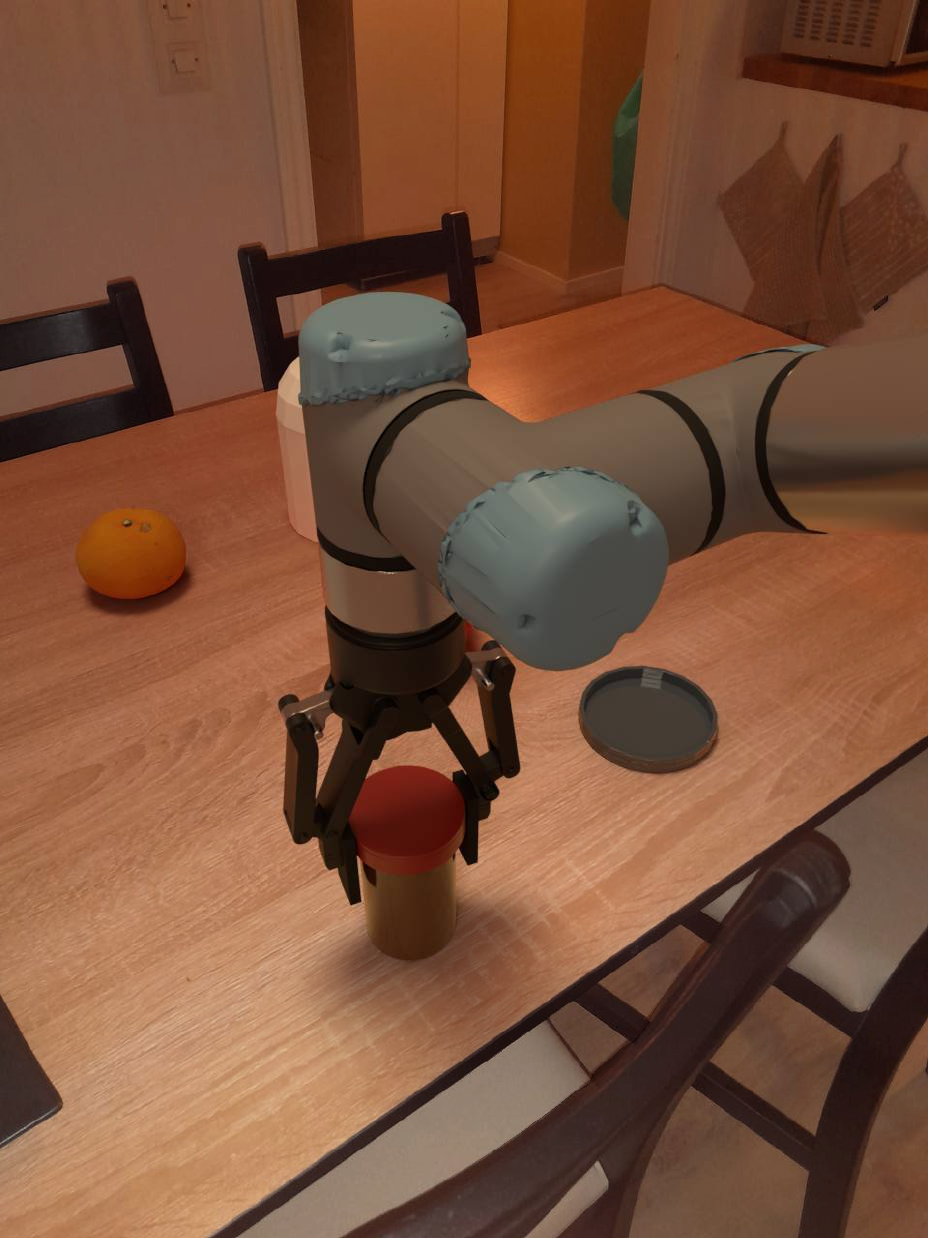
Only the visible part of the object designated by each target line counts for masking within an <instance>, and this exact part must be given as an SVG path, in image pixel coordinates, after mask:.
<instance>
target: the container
mask: <svg viewBox="0 0 928 1238" xmlns="http://www.w3.org/2000/svg"><path fill="white" fill-rule="evenodd" d="M300 392H301V391H300V365H299V356H297V357H296V358H295V359H294V360H292V362H290V364H289V365H288V367H287V369H286V370H285V371H284V374H283V375H282V377H281V378H280V380H279V382H278V388H277V395H276V396H277V397H276V408H275V417H276V423H277V430H278V440H279V446H280V455H281V462H282V471H283V479H284V486H285V497H286V503H287V511H288V518H289V523H290V525H291V527H292V528H293V529H294V531H295V532H296V533H297V534H298V535H300V536H301V537H304V538H305V539H307V540H310V541H311V542H313V543H318V537H317V529H316V523H315V522H316V521H315V512H314V504H313V496H312V487H311V479H310V471H309V462H308V454H307V446H306V437H305V429H304V421H303V412H302V405H299V401H298V394H299V393H300Z"/></svg>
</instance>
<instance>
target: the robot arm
mask: <svg viewBox="0 0 928 1238" xmlns="http://www.w3.org/2000/svg"><path fill="white" fill-rule="evenodd" d="M465 325H466V324H465V323H464V322H463V321H462V316H461V315H460V314H459V312H458V311H457V310H455V309H454V308H453V307H452V306H450V305H449V304H448V303H445V302H443V301H442V300H440V299H437V298H433V297H431V296H427V295H423V294H418V293H417V294H416V293H413V292H401V291H374V292H365V293H358V294H355V295H350V296H345V297H341V298H337V299H334V300H332V301H330V302H327V303H326V304H323V305H322V306H320V307H319V308H317V309H316V310H314V311H313V312H312V313H311V314H310V315H309V316H308V317H306V319H305V321H303V324H302V325H301V328H300V331H299V333H298V343H297V344H298V357H299V365H300V391H301V392H300V393H299V394H298V401H299V405H302V412H303V421H304V429H305V437H306V446H307V454H308V462H309V471H310V479H311V487H312V496H313V504H314V512H315V521H316V522H315V523H316V529H317V537H318V542H317V544H318V545H317V546H318V555H319V557H318V558H319V567H320V568H319V569H320V578H321V588H322V597H323V601H324V604H325V605H324V619H325V628H326V638H327V647H328V656H329V665H330V669H329V675H328V677H327V679H326V681H325V683H324V686H323V690H322V691H320V692H318V693H315V694H313V695H311V696H309V697H306V698H304V699H302V700H300V699H299V697H298V696H297V695H296V694H293V693H289V694H284V695H283V696H281V697H280V699H279V700H278V701H277V708H278V710H279V713H280V715H281V717H282V720H283V722H284V725H285V729H286V743H285V745H286V746H285V762H284V763H285V764H284V782H283V783H284V784H283V804H282V805H283V806H282V813H283V816H284V819H285V821H286V824H287V827H288V830H289V833H290V835H291V836H290V837H291V838H292V841H293V843H294V844H296V845H298V846H299V845H305V844H307V843H309V842H311V840H312V839H314V838H316V839H317V843H318V850H319V853H320V856H321V858H322V861H323V863H324V866H325V867H326V869H327V870H328V871H329V872H330V871H332V870H335V869H337V873H338V877H339V879H340V882H341V885H342V887H343V889H344V892H345V895H346V898H347V900H348V903H349V906H355V905H357V904H360V903H362V902H363V901H362V893H361V884H360V883H361V882H360V873H359V863H358V856H357V852H356V842H355V836H354V834H353V831H352V829H351V827H350V824H349V822H348V819H349V817H350V815H351V812H352V810H353V807H354V805H355V802H356V800H357V798H358V795H359V793H360V790H361V788H362V786H363V783H364V781H365V779H366V778H367V777H368V773H369V771H370V770H371V769H370V768H371V767H372V764H373V762H374V761H378V760H379V759H380V757H381V755H382V752H383V751H384V748H385V745H386V743H387V741H391V740H394V739H396V738H398V737H400V736H402V735H405V734H406V733H414V732H422V731H425V730H429V729H432V728H433V725H434V727H435V729H436V730H437V731H438V734H439V735H440V736H441V737H442V739H443V741H444V742H445V743H446V745H447V746H448V747H449V749H450V751H451V752H452V754H453V755H454V757H455V758H456V760H457V761H458V763H459V765H460V766H461V768H462V769H459V770H455V771H453V772H451V776H452V779H451V781H452V782H453V783H455V785H456V786H457V787H458V789H459V791H460V792H461V794H462V796H463V799H464V803H465V834H464V838H463V841H462V843H461V845H460V847H459V848H458V850H459V852H460V854H461V856H462V858H463V860H464V862H465V864H466V865H467V867H468V866H469V867H470V866H472V865H475V864H477V863H479V828H480V827H479V826H480V825H479V823H480V821H484V820H488V819H489V817H490V815H491V812H492V802H493V801H495V800H496V799H497V798H499V796H500V794H501V792H500V789H499V787H498V786H497V784H496V782H497V781H498V780H500V779H501V778H503V777H504V778H506V779H512V778H515V777H516V776H518V775H519V774H520V772H521V768H522V767H521V761H520V760H521V759H520V753H519V748H518V741H517V740H518V739H517V735H516V728H515V720H514V713H513V708H512V707H513V706H512V700H511V691H512V687H513V683H514V679H515V675H516V672H517V668H516V666H515V664H514V663H513V661H512V660H511V659H510V657H509V656H508V654H507V653H506V651H507V652H508V653H510V654H511V656H513V657H514V658H515V659H517V660H518V661H519V662H521V663H523V664H525V665H526V666H529V667H531V668H534V669H537V670H540V671H547V672H548V671H549V672H565V671H566V672H567V671H574V670H578V669H581V668H584V667H587V666H589V665H592V664H594V663H596V662H598V661H600V660H601V659H603V658H605V657H607V656H609V655H610V654H611V653H612V652H613V651H614V648H615V646H616V645H617V643H618V641H619V640H620V639H621V638H622V637H623V636H624V635H625V634H633V633H635V632H636V631H637V630H638V629H639V627H641V625H642V624H644V622H645V621H646V619H647V618H648V617H649V615H650V613H651V612H652V610H653V608H654V607H655V605H656V604H657V601H658V599H659V598H660V595H661V592H662V589H663V587H664V584H665V581H666V578H667V575H668V569H669V566H671V565H674V564H676V563H679V562H681V561H683V560H686V559H688V558H691V557H693V556H696V555H697V554H700V553H702V552H705V551H707V550H710V549H712V548H715V547H717V546H720V545H722V544H724V543H727V542H729V541H731V540H734V539H737V538H739V537H742V536H745V535H746V536H747V535H751V534H757V533H780V534H782V533H783V534H804V535H805V534H806V535H829V534H833V535H834V534H836V535H857V536H878V537H879V536H880V537H900V538H901V537H902V538H921V539H922V538H926V539H928V330H926V331H919V332H913V333H912V332H911V333H907V334H900V335H894V336H889V337H881V338H877V339H876V338H875V339H870V340H864V341H858V342H857V341H856V342H852V343H846V344H840V345H833V346H828V347H826V346H823V345H819V344H813V343H812V344H811V343H809V344H807V343H804V344H803V343H802V344H795V345H792V346H791V345H790V346H781V347H774V348H769V349H765V350H760V351H757V352H752V353H748V354H744V355H742V356H739V357H737V358H735V359H734V360H732V361H730V362H729V363H726V364H724V365H720V366H717V367H714V368H711V369H707V370H704V371H701V372H698V373H694V374H692V375H689V376H686V377H682V378H680V379H676V380H673V381H670V382H667V383H664V384H661V385H657V386H654V387H651V388H648V389H641V390H637V391H635V392H631V393H628V394H626V395H625V394H624V395H622V396H619V397H615V398H612V399H609V400H605V401H601V402H598V403H595V404H592V405H588V406H585V407H582V408H579V409H575V410H572V411H568V412H565V413H561V414H558V415H555V416H552V417H549V418H546V419H543V420H540V421H535V422H532V421H531V422H529V421H528V422H527V421H522V420H521V419H519V418H518V417H516V416H515V415H513V414H511V413H510V412H508V411H507V410H506V409H504V408H502V407H501V406H499V405H498V404H496V403H494V402H492V401H491V400H489V399H488V398H487V397H486V396H484V395H483V394H481V393H480V392H479V391H477V390H475V389H474V388H472V387H471V386H470V384H469V372H470V369H471V367H472V359H471V357H470V354H469V345H468V337H467V330H466V329H467V328H466V326H465ZM466 621H468V622H469V623H470V624H471V625H472V626H471V627H473V628H474V629H475V630H478V631H481V632H483V633H484V634H487V636H489V637H490V638H492V639H490V640H488V641H486V642H484V643H483V644H482V645H481V648H480V650H477V651H466V648H467V647H466V645H467V644H466V643H467V635H466ZM504 649H505V650H506V651H505V650H504ZM470 678H472V680H473V681H474V682H475V684H476V688H477V693H478V700H479V706H480V711H481V716H482V721H483V728H484V733H485V738H486V744H487V752H485V753H482V755H479V753H478V752H477V750H476V749H475V747H474V745H473V744H472V742H471V740H470V739H469V737H468V736H467V734H466V732H465V730H464V729H463V728H462V726H461V724H460V722H459V721H458V720H457V718H456V716H455V715H454V713H453V711H452V710H451V708H450V706H451V704H452V703H453V702H454V700H455V699H456V697H457V696H458V695H459V693H460V692H461V690H462V689H463V688H464V686H465V685H466V684H467V682H468V681H469V679H470ZM332 714H335V715H336V716H337V717H339V718H340V719H342V720H341V733H340V736H339V739H338V742H337V744H336V747H335V749H334V752H333V755H332V757H331V759H330V762H329V764H328V767H327V770H326V772H325V775H324V777H323V780H322V783H321V785H320V788H319V791H318V793H317V787H318V773H319V763H320V762H319V761H320V750H319V744H318V741H319V740H321V739H323V737H324V730H325V728H326V720H327V718H328V717H329V716H330V715H332Z"/></svg>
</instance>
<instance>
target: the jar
mask: <svg viewBox="0 0 928 1238" xmlns="http://www.w3.org/2000/svg"><path fill="white" fill-rule="evenodd" d="M359 864H360V865H359V866H360V877H361V884H362V886H361V887H362V895H363V904H364V906H363V907H364V915H365V925H366V931H367V935H368V937H369V940H370V941H371V943H372V944H373V945H374V947H375V948H376V949H378V951H380V952H381V953H382V954H383V955H385V956H388V957H390V958H393V959H395V960H399V961H420V960H423V959H427V958H429V957H432V956H434V955H436V954H437V953H439V952H440V951H442V950H443V949H444V948H445V947H446V946H447V945H448V944H449V942H450V941H451V939H452V938H453V935H454V934H455V930H456V927H457V852H456V853H455V854H454V855H453V856H452V857H451V858H450V859H449V860H448V861H446V862H445V863H444V864H442V865H441V866H439V867H437V868H435V869H433V870H430V871H427V872H424V873H420V874H415V875H393V874H388V873H384V872H381V871H378V870H376V869H374V868H372V867H370V866H368V865H367V864H365V863H364V862H363V861H362V860H361V859H360V858H359Z"/></svg>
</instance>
